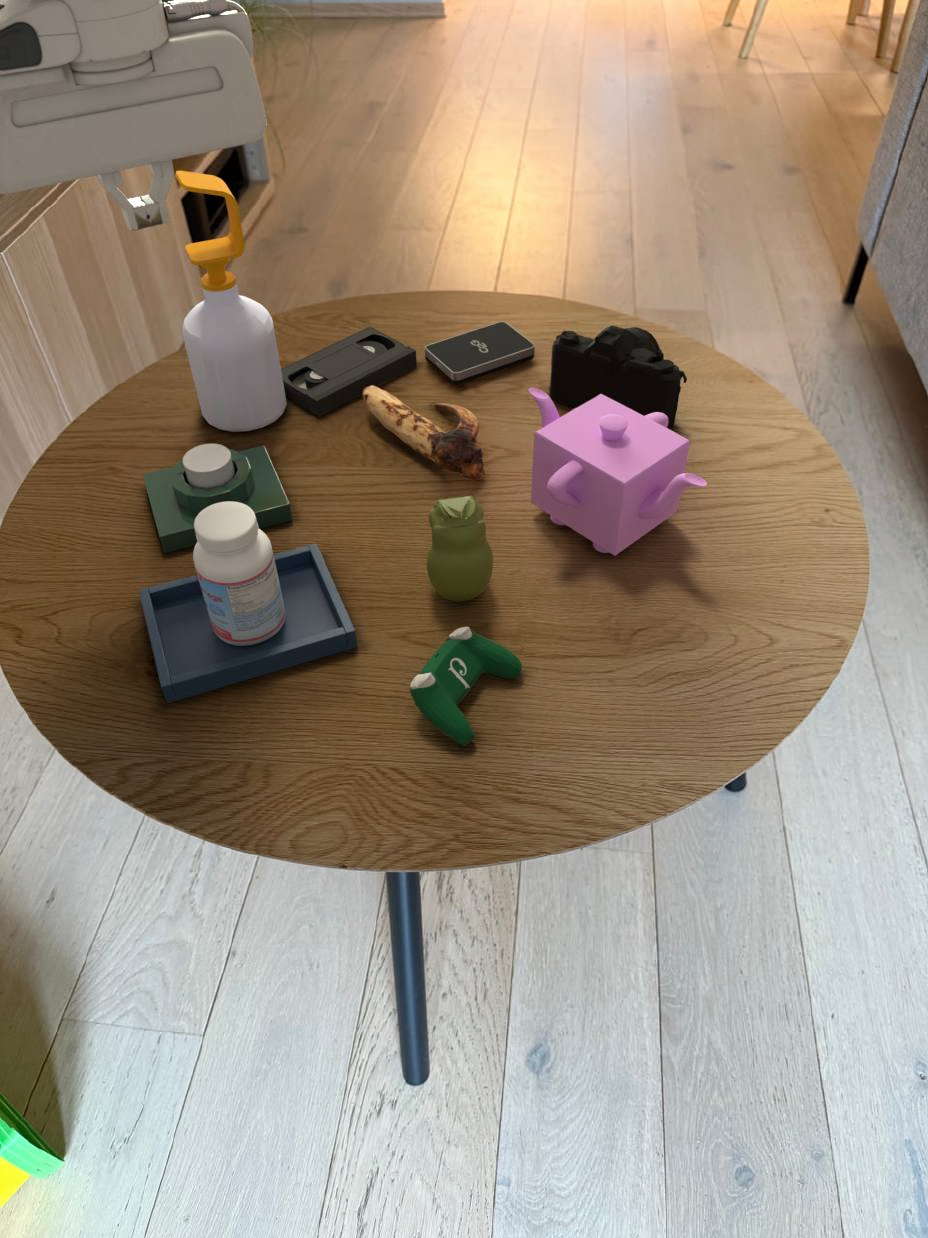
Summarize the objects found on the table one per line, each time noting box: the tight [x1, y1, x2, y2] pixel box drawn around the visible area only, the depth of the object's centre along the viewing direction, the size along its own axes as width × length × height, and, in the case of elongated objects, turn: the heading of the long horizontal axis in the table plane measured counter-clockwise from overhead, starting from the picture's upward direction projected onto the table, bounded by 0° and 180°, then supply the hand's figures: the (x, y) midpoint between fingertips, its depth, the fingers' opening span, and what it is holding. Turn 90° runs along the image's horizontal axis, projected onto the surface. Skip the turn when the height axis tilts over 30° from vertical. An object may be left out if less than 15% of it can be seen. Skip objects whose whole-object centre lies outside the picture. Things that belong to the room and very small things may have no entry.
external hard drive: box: [424, 321, 536, 386], centre depth 107 cm, size 7×11×2 cm, turn 122°
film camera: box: [548, 325, 688, 431], centre depth 99 cm, size 15×10×9 cm, turn 56°
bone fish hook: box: [362, 385, 486, 481], centre depth 96 cm, size 9×5×18 cm
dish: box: [138, 542, 359, 704], centre depth 79 cm, size 16×12×2 cm
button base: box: [142, 445, 294, 554], centre depth 89 cm, size 12×10×4 cm
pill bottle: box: [192, 501, 285, 646], centre depth 75 cm, size 6×6×11 cm
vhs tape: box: [281, 326, 418, 418], centre depth 106 cm, size 14×8×2 cm, turn 135°
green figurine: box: [426, 494, 494, 602], centre depth 79 cm, size 6×5×10 cm
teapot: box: [528, 387, 708, 556], centre depth 85 cm, size 15×13×11 cm
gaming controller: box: [409, 626, 523, 747], centre depth 73 cm, size 9×4×6 cm
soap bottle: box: [174, 170, 288, 433], centre depth 93 cm, size 9×9×25 cm
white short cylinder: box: [182, 443, 235, 489], centre depth 87 cm, size 4×4×2 cm
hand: (147, 224), depth 71 cm, fingers closed
